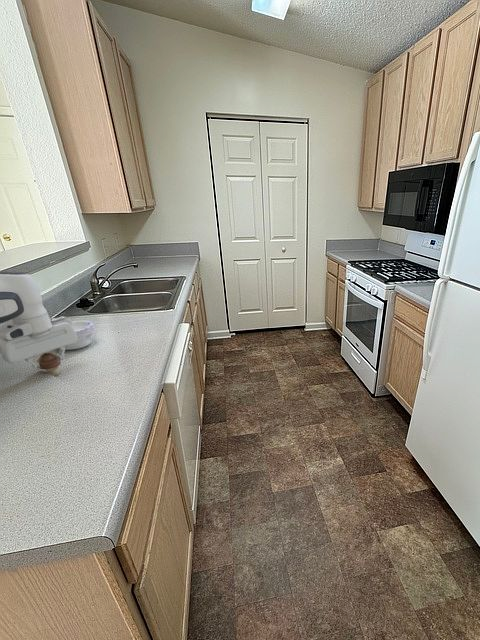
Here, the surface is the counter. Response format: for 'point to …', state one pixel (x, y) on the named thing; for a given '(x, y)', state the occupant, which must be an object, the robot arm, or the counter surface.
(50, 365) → the mushroom
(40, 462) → the counter surface
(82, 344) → the paper bowls
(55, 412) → the counter surface
